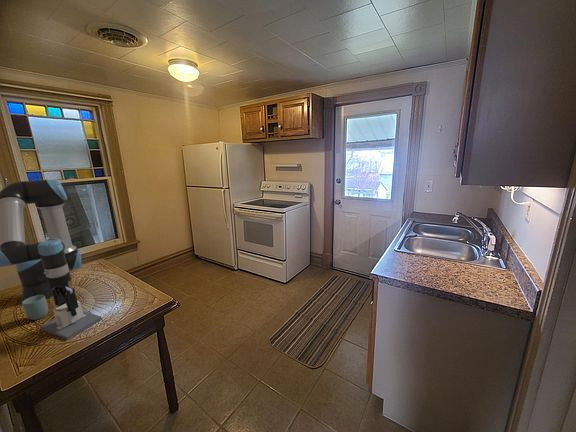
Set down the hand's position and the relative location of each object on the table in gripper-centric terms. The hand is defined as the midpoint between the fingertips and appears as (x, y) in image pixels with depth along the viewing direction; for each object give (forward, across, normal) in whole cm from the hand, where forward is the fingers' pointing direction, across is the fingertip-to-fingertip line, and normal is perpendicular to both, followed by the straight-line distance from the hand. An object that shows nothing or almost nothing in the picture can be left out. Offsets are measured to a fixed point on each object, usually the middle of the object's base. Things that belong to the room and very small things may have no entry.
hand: (70, 320), depth 112 cm
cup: (+3, -22, -2) cm, 22 cm away
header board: (+2, 0, 0) cm, 2 cm away
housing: (0, 0, 0) cm, 0 cm away
